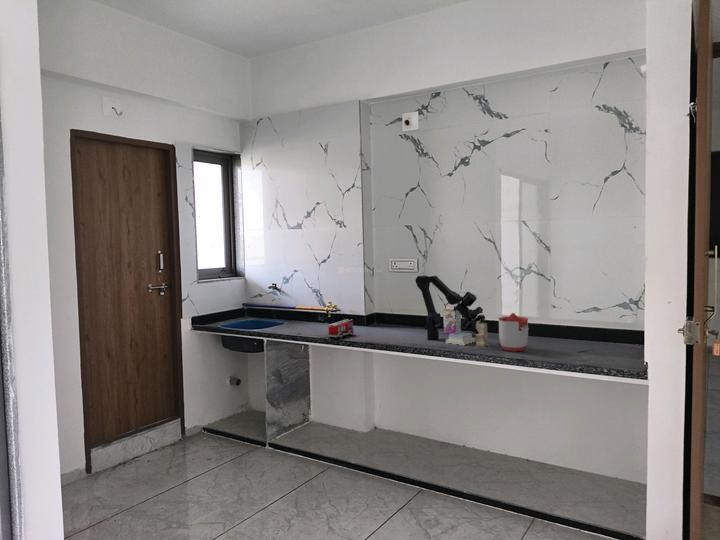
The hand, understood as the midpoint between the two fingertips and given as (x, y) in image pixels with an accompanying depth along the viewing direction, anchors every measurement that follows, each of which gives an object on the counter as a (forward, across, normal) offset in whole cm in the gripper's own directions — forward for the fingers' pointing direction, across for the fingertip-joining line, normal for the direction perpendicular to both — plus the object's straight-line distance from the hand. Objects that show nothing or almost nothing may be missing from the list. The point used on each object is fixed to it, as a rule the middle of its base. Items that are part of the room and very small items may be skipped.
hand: (482, 332), depth 311 cm
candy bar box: (-18, +20, +29) cm, 39 cm away
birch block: (+5, 0, +6) cm, 7 cm away
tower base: (-5, 0, +16) cm, 16 cm away
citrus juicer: (+20, -1, -8) cm, 21 cm away
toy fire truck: (-57, -25, +67) cm, 92 cm away
